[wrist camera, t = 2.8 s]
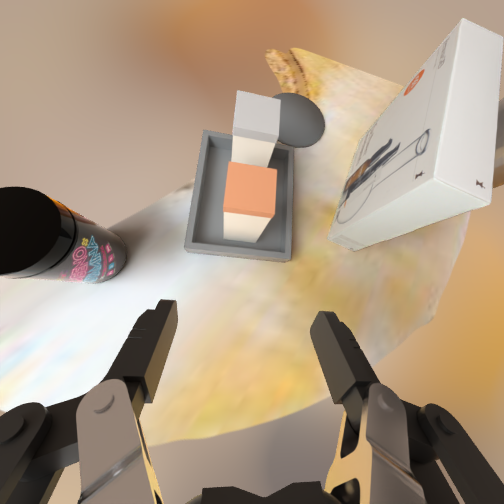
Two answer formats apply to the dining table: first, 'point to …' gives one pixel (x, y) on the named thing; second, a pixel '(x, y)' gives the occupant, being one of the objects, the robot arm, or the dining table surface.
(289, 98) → the slate mat
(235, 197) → the rust lid box
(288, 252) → the parts tray
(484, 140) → the skincare box
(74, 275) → the supplement container
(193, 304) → the dining table surface
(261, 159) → the white lid box
